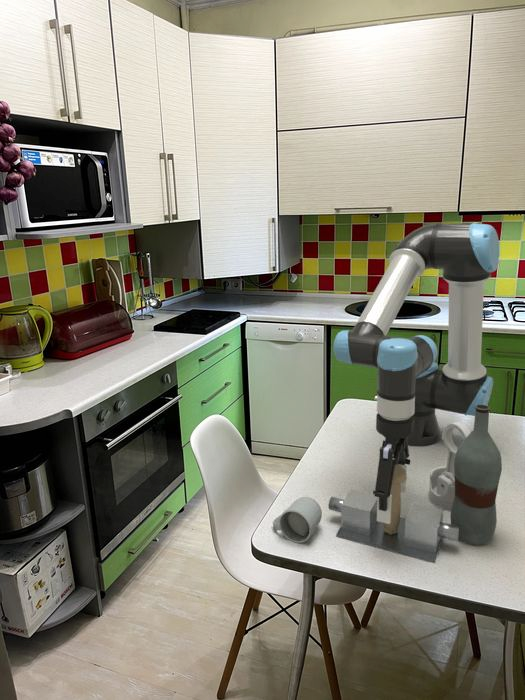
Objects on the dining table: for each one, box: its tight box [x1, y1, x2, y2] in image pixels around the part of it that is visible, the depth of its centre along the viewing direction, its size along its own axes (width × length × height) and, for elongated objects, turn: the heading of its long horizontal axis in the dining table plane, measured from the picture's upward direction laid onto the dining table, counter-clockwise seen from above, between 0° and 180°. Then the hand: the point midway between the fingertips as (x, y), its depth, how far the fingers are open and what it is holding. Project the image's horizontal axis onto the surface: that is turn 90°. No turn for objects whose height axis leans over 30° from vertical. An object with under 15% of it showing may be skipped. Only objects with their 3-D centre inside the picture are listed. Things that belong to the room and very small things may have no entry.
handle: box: [383, 464, 408, 535], centre depth 115 cm, size 5×6×15 cm
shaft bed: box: [328, 489, 460, 564], centre depth 116 cm, size 12×28×7 cm, turn 63°
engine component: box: [428, 421, 472, 512], centre depth 126 cm, size 11×20×10 cm
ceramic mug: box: [272, 496, 323, 544], centre depth 118 cm, size 11×8×8 cm
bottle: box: [449, 404, 503, 547], centre depth 111 cm, size 9×9×30 cm
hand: (391, 505), depth 115 cm, fingers open, 12 cm apart
